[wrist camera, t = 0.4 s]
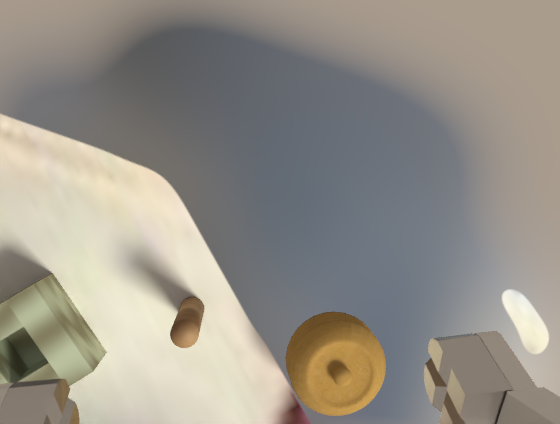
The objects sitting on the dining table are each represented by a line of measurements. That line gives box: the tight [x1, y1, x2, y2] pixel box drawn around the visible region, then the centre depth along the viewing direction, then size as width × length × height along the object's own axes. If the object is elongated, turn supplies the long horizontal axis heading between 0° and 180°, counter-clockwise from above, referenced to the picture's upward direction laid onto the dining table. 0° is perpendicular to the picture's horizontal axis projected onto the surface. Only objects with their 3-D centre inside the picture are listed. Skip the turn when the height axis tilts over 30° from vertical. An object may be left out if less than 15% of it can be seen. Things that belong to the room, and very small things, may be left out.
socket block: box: [0, 273, 106, 386], centre depth 58 cm, size 12×12×6 cm
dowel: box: [170, 297, 204, 348], centre depth 58 cm, size 3×3×10 cm
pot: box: [286, 312, 386, 416], centre depth 60 cm, size 12×12×10 cm
